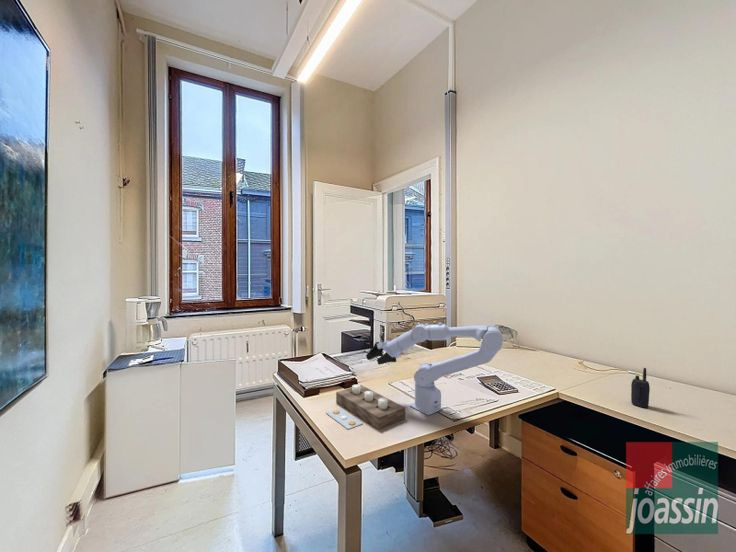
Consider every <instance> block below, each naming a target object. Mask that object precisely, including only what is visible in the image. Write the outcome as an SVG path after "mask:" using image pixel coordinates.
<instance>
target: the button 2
mask: <svg viewBox="0 0 736 552" xmlns="http://www.w3.org/2000/svg"><path fill="white" fill-rule="evenodd" d="M386 398H387V397H386ZM386 398H380V399H378V409H380V410H382V411H383V410H386V409H387V399H386Z"/></svg>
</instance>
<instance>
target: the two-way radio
mask: <svg viewBox="0 0 736 552" xmlns="http://www.w3.org/2000/svg"><path fill="white" fill-rule="evenodd" d="M630 388H631V390H630V391H631V392H630V393H631V394H630V398H631V399H630V400H631V401H630V402H631V404H632V405H634V406H637V407H640V408H643V409H645V408H646V409H647V408H648V407H649V403H650V391H651V390H650V389H651V387H650V382H649V381H647V368H646V367H643V371H642V379H640V376H639V375H637V374H635V377H634V378H633V379H632V381H631V387H630Z"/></svg>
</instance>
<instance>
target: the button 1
mask: <svg viewBox="0 0 736 552" xmlns="http://www.w3.org/2000/svg"><path fill="white" fill-rule="evenodd" d="M360 385H361V384H353V385H351V388H352V394H354V395H358V394H360Z"/></svg>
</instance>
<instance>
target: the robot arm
mask: <svg viewBox="0 0 736 552" xmlns="http://www.w3.org/2000/svg"><path fill="white" fill-rule="evenodd" d="M450 337H458V338H459V337H460V338H461V337H462V338H464V337H466V338H470V337H471V338H474V339H475V340H477V342H481V343H480V346H479V348H478V349H477V350H474V351H471V352H467V353H465V354H462V355H459V356H455V357H452V358H449V359H446V360H443V361H439V362H431V363H429V362H424V363H421V364H420V365H419V367H418V369H417V371H415V373H414V374H413V380H414V403H412V404H409V407H411V408H413V409H415V410H416V411H419V412H421V413H423V414H425V415H427V416H430V415H433V414H435V413H438V412H439V410H440V411H441V409H442V410H443V407H442V393H441V390H440V389H439V388H438V387H437V386H436V385H435V382H436V381H438V380H439V379H441V378H442V377H445V376H448V375H453V374H455V373H459V372H462V371H464V370H468V369H472V368H474V367H475V368H476V367H479V366H481V365H484V364H488V363H490V362H491V361H492V360H493V358H494V357H495V356H496V355H497V354H498V352H499V351H501V349H502V346H503V341H504V339H503V334H502V331H501V329H500V328H499V327H498V326H496V325H483V324H482V325H479V324H477V325H468V326H465V325H464V326H452V327H451V326H450V327H449V325H447V324H446V323H442V322H437V324H429V323H425V324H423V323H421V324H416V325H415V327H413V328H412V329H410V330H408V331H405V332H404V333H401V335H398V336H397V337H395V338H393V339H392V340H388V339H387V340H386V342H382V341H380V342H379V341H376V342H375V343H374V345H373V347H372V348H371V350H369V352H367V354H365V356H366V360H367V361H371V360H372V359H376V358H377V359H376V361H377V364H378V366H379V365H383V364H387V363H396V362H397V359H400V358H401V357H402V354H401V353H403V352H405V351H407V350H408V349H410V348H412V347H414V346H415V345H416V344H418V343H423V342H425V341H426V340H427V341H447V340H448V339H449V338H450ZM481 340H482V341H481ZM384 351H385V353H384V354H383V352H384Z"/></svg>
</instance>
